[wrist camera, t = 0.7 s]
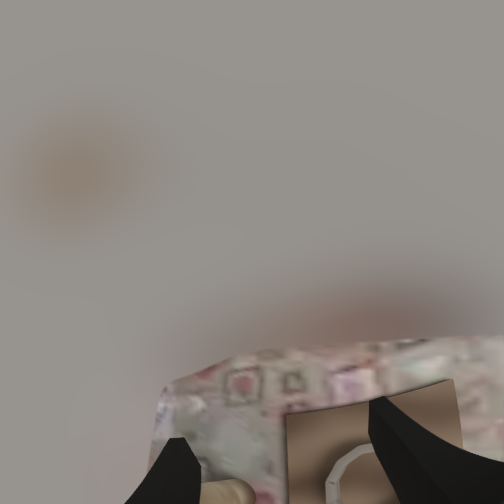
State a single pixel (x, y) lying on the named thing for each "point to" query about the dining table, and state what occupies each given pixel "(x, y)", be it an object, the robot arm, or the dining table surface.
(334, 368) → the dining table surface
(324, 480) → the socket board
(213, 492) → the maple peg
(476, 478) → the robot arm
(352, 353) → the dining table surface
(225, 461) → the dining table surface
